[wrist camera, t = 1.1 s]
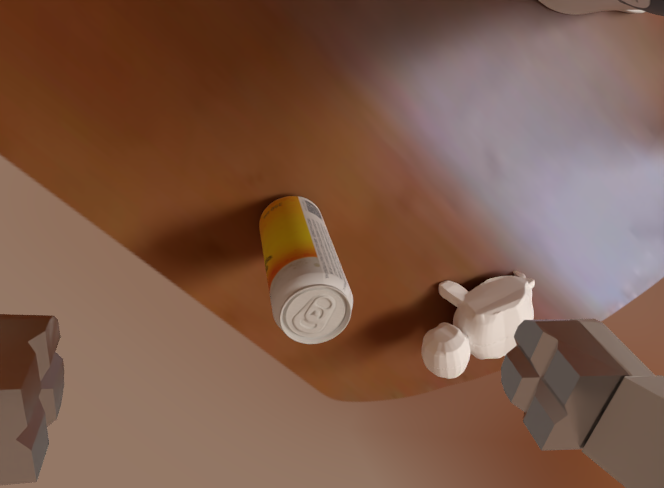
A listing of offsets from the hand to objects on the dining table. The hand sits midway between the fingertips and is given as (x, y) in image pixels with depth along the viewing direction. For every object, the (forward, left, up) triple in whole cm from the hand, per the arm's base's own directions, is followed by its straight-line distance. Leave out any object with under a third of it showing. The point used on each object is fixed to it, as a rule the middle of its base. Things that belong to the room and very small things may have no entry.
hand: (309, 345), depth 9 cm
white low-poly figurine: (+5, +39, -38) cm, 54 cm away
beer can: (+10, +15, -38) cm, 42 cm away
